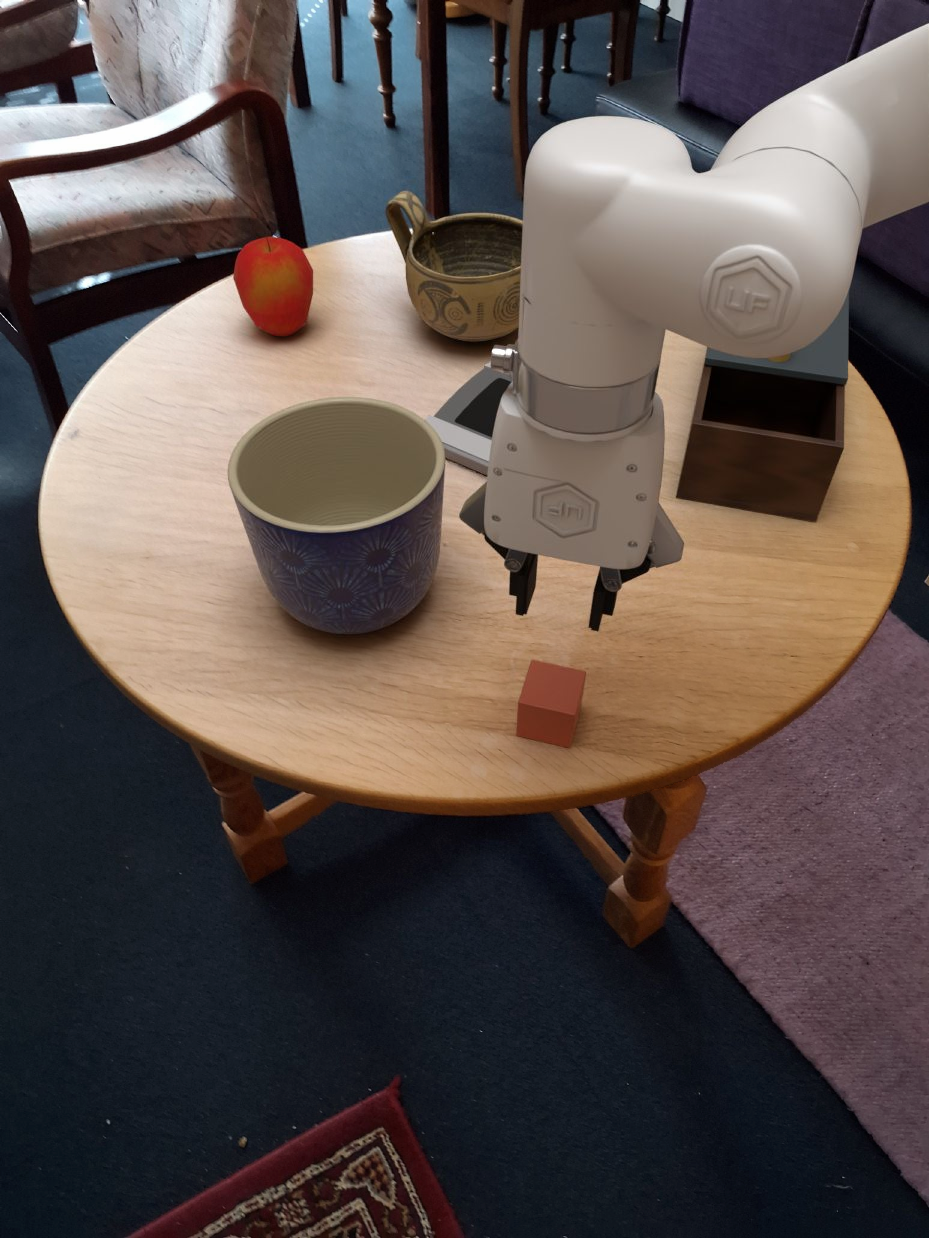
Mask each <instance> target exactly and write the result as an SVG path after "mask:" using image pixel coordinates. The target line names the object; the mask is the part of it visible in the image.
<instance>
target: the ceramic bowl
mask: <svg viewBox="0 0 929 1238" xmlns="http://www.w3.org/2000/svg"><path fill="white" fill-rule="evenodd" d="M402 210H403V211H402ZM403 212H404V213H403ZM404 214H405V215H406V217H407V219H408V221H409V224H410V226H411V230H412V232H411V230H410V228H409V225H408V223H407V220H406V219H405V217H404ZM385 217H386V220H387V223H388V225H389V227H390V229H391V232H392V234H393V236H394V239H395V240H396V243H397V245H398V248H399V250H400V253H401V256H402V258H403V261H404V263H405V267H404V268H405V283H406V288H407V293H408V296H409V298H410V301H411V304H412V306H413V308H414V309H415V312H416V313H417V314H418V316H419V318H420V319H421V320H422V321H423V322H424V323H425V324H426V325H428V326H429V327H430V328H432V329H433V330H434V331H436V332H438V333H439V334H441V335H443V336H446V337H448V338H450V339H454V340H459V341H463V342H472V343H473V342H474V343H476V342H477V343H479V342H487V341H491V340H495V339H499V338H501V337H505V336H507V335H509V334H511V333H512V332H514V331H516V330H517V329H519V308H520V278H521V254H522V229H523V219H519V218H518V217H517V218H516V217H512V216H509V215H504V214H498V213H491V212H468V213H466V212H465V213H459V214H453V215H448V216H444V217H441V218H438V219H436V220H430V219H429V218H428V216H427V212H426V209H425V208H424V206H423V203H422V202H421V200H420V199H419V198H418V197H417V196H416V195H415V194H414V193H413V192H411V191H409V190H402V191H401V192H398V194H396V195H395V196H393V197H392V198H391V199H390V200H389V201H388V202H387V204H386V206H385Z"/></svg>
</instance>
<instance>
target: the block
mask: <svg viewBox="0 0 929 1238" xmlns="http://www.w3.org/2000/svg"><path fill="white" fill-rule="evenodd" d="M586 678H587V671H585V670H582V669H576V668H572V667H569V666H568V667H567V666H564V665H558V664H554V663H549V662H545V661H539V660H537V659H536V660H535V659H531V660H530V663H529V666H528V670H527V672H526V675H525V679H524V682H523V686H522V688H521V692H520V695H519V698H518V701H517V715H516V730H515V735H516V737H521V738H524V739H525V738H526V739H529V740H533V741H538V742H542V743H546V744H550V745H555V746H560V747H564V748H568V749H570V748H572V744H573V740H574V737H575V733H576V729H577V725H578V722H579V721H578V720H579V717H580V713H581V709H582V704H583V697H584V691H585V685H586Z"/></svg>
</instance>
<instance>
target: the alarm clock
mask: <svg viewBox="0 0 929 1238" xmlns="http://www.w3.org/2000/svg"><path fill="white" fill-rule="evenodd" d="M511 382H512V381H511V379H510V375H508V374H504V373H503V371H499V370H493V369H491V360H490V361H488V362H487V363H485V364H484V367H483V368H482V369H481V370H480V371H478V372H477V373H475V374H474V375H473V376H472V377H470V378H469V379H468V380H467V381H466V382H465V383H464V384H463V385H462V386H461V387H459V388H458V389H457V390H456V391H455V392H454V393H453V395H451V397H449V398H448V399H447V401H445V403H444V404H443V405H442V406H441V407H440V408H439V409H438V410H437V412H435V414H434V415H431V414H428V415H427V417H426V418H425V419H424V420H425V421H426V422H428V423H429V424H430V425H431V426H432V428H433V429H434V430H435V431H436V433H437V434H438V435H439V437H440V439H441V441H442V444H443V447H444V451H445V459H448V460H450V461H452V462H455V463H457V464H459V465H462V466H464V467H466V468H468V469H470V470H473V471H475V472H478V473H480V474H482V475H484V476H487V475H488V465H489V457H490V449H491V443H492V436H493V430H494V425H495V420H496V415H497V412H498V408H499V404H500V401H501V398H502V395H503V394H504V392H505V391H506V390H507V388H508V386H509V385H510V383H511Z"/></svg>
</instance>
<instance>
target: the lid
mask: <svg viewBox="0 0 929 1238" xmlns="http://www.w3.org/2000/svg"><path fill="white" fill-rule="evenodd" d="M849 316H850V290H849V291H848V293H847V296H846V299H845V301H844V304H843V306H842V308H841V310H840V312H839V313H838V315H837V317H836V318H835V319H834V321H833V322H832V323H831V325H830V326H829V327H828V328H827V330H826V331H825V332H823V333H822V334H821V335H820V336H819V337H818V338H817V339H816V340H814V341H813V342H811V343H810V344H809V345H807V346H805V347H803V348H801V349H799V350H797V351H795V352H792V353H789V354H786V355H783V356H778V357H771V358H749V357H742V356H736V355H731V354H728V353H724V352H721V351H718V350H715V349H712V348H709V347H707V346H706V351H707V352H706V351H705V355H706V357H705V356H704V360H705V362H704V361H703V365H704V364H705V365H712V366H718V367H725V368H732V369H739V370H746V371H753V372H759V373H766V374H773V375H780V376H787V377H794V378H800V379H807V380H814V381H821V382H828V383H834V384H841V385H845V386H846V385H847V383H848V380H849V327H850V326H849V325H850V324H849V322H850V321H849V320H850V319H849V318H850V317H849Z"/></svg>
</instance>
